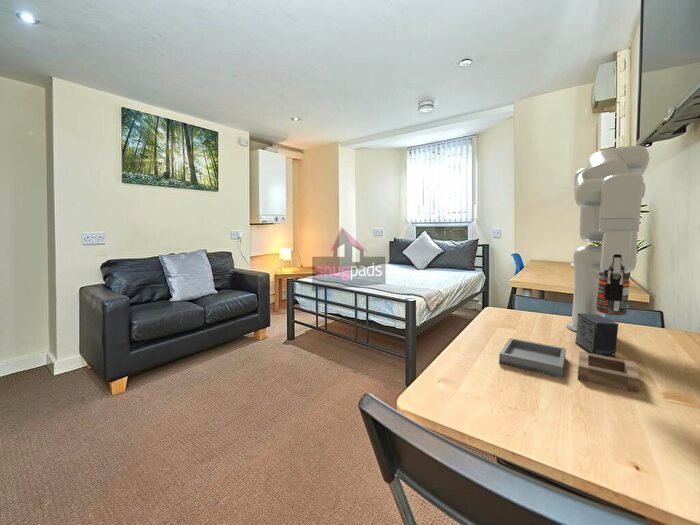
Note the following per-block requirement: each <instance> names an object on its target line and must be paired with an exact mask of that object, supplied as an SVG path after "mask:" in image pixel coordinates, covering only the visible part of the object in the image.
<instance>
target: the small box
mask: <svg viewBox="0 0 700 525" xmlns="http://www.w3.org/2000/svg"><path fill="white" fill-rule="evenodd" d="M618 331H619V323H617V322H615V321H613V320H611V319H608V318H606V317H605V318H604V317H602V316H600V315H596V314H581V313H578V322H577V331H576V334H575V341H574V342H575V345H577V346H578V347H580V348H582V349H583V351H586V353H591V354H596V355H601V356H607V357H612V358H616V350H617V340H618Z"/></svg>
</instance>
